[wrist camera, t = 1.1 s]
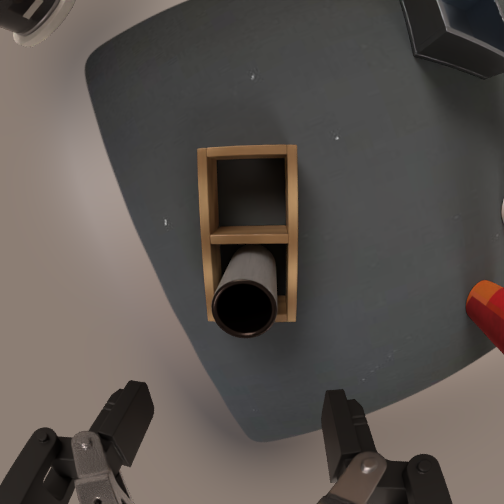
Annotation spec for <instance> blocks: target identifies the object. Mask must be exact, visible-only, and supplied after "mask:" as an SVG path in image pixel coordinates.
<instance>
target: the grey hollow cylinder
mask: <svg viewBox="0 0 504 504" xmlns="http://www.w3.org/2000/svg"><path fill="white" fill-rule="evenodd" d="M277 310H278V307H277V279H276V263H275V259H274V257H273V255H272V253H271V252H270V251H269V250H268V249H267V248H265V247H263V246H261V245H258V244H248V245H245V246H243V247H241V248H239V249H238V250H237V251H236V252H235V254H234V255H233V257H232V259H231V261H230V263H229V265H228V267H227V269H226V271H225V273H224V275H223V277H222V279H221V281H220V283H219V285H218V288H217V290H216V292H215V294H214V296H213V299H212V303H211V311H212V315H213V318H214V320H215V322H216V323H217V325H218V326H219V327H220V328H221V329H222V330H223V331H225V332H226V333H228V334H230V335H232V336H235V337H239V338H253V337H257V336H259V335H261V334H263V333H265V332H266V331H268V330H269V329H270V328H271V326H272V325H273V324H274V322H275V320H276V317H277Z"/></svg>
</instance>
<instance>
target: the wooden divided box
mask: <svg viewBox="0 0 504 504" xmlns="http://www.w3.org/2000/svg"><path fill="white" fill-rule="evenodd" d="M257 158H285V197H286V226H285V225H266V226H220V227H219V211H218V187H217V160H231V159H257ZM197 160H198V188H199V209H200V227H201V242H202V257H203V270H204V282H205V293H206V304H207V314H208V321H215V320H214V318H213V315H212V311H211V303H212V299H213V296H214V294H215V292H216V290H217V288H218V285H219V283H220V281H221V279H222V269H221V251H220V244H277V243H286V290H285V295H277V307H278V310H277V317H276V320H275V322H296V307H297V271H298V168H297V145H247V146H226V147H211V148H198V149H197Z"/></svg>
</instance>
